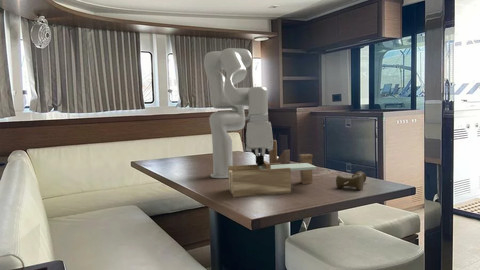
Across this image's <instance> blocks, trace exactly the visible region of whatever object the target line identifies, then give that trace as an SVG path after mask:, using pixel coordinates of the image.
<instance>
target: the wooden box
mask: <svg viewBox="0 0 480 270" xmlns="http://www.w3.org/2000/svg"><path fill="white" fill-rule="evenodd" d="M280 164H281V163H271V165H280ZM291 172H292V171H290V168H277V169H259V166H258V165H257V164H256V163H255V164H243V165H242V164H241V165H233V166H228V176H229V178H228V190H229V192H230V194H231V195H232V197H233V198H241V197H243V198H244V197H256V196H268V195H269V196H271V195H282V194H283V195H284V194H292V179H291V178H292V175H291Z"/></svg>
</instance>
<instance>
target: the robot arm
mask: <svg viewBox="0 0 480 270" xmlns="http://www.w3.org/2000/svg"><path fill="white" fill-rule="evenodd" d="M203 60H204V61H203V66H204V71H205V74H206V76H207V80H208V86H209V87H208V88H209V97H210V99H209V100H210V104H211V107H212V108H214V109H215V110H216V109H218V110H220V111H215V112H213V113H211V114H210V116H209V127H210V131H211V143H212V165H213V167H212V168H213V169H212V170H213V173H211V174H210V178H212V179H229V176H228V166H234V163H233V158H234V157H233V140H232V138H231V136H230V134H229V133H228V132H229V131H241V130H242V129H244V128H245V125H246V129H245V146H246V147H245V151H246V152H249V153H252V154H253V155H254V156H255V164H257V165H258V166H263V164H264V161H265V155H266V154H267V153H268V152H269V151H270V150H273V140H274V137H273V136H274V135H273V130H272V129H273V128H272V123H271V121H269V105H268V103H269V102H268V101H269V100H268V89H267V87H265V86H252V87H235V85H237V84H238V83H241V82H242V81H243V80H245V79H246V77H247V75H248V71H247V68H249V67H250V66H251V65H252V61H253V57H252V53H251V51H249V50H248V49H246V48H238V47H237V48H234V47H229V48H225V49H223V50H221V51H219V50H217V51H215V50H213V51H210V52H207V53H206V54H205V55H204V59H203ZM220 70H224V71H225V74H226V75H227V76H225V75H224V74H223V73H222V72H221V71H220ZM245 107H248V115H246V114H245ZM223 109H225V110H223ZM226 109H231V110H226ZM221 110H222V111H221ZM246 121H248V122H247V124H246ZM259 149H260V152H259Z"/></svg>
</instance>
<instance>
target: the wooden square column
mask: <svg viewBox="0 0 480 270" xmlns="http://www.w3.org/2000/svg"><path fill="white" fill-rule="evenodd" d="M298 157H299V163H309V164H311V165H313V158H314V154H311V153H303V154H302V153H301V154H298ZM299 173H300V175H299V176H300V182H301V183H302V184H303V185H305V184H306V185H307V184H313V169H311V170H299Z"/></svg>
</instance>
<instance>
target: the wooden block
mask: <svg viewBox="0 0 480 270" xmlns="http://www.w3.org/2000/svg"><path fill="white" fill-rule="evenodd" d="M277 143H278V142H277V140H276V139H273V150H270V151H268V153H269V154H268V157H269V162H268V163H270V164H271V163H281V164H291V150H290V149H285V150H283V151H282V153H281V154H280V155H279V156H278V144H277Z"/></svg>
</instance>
